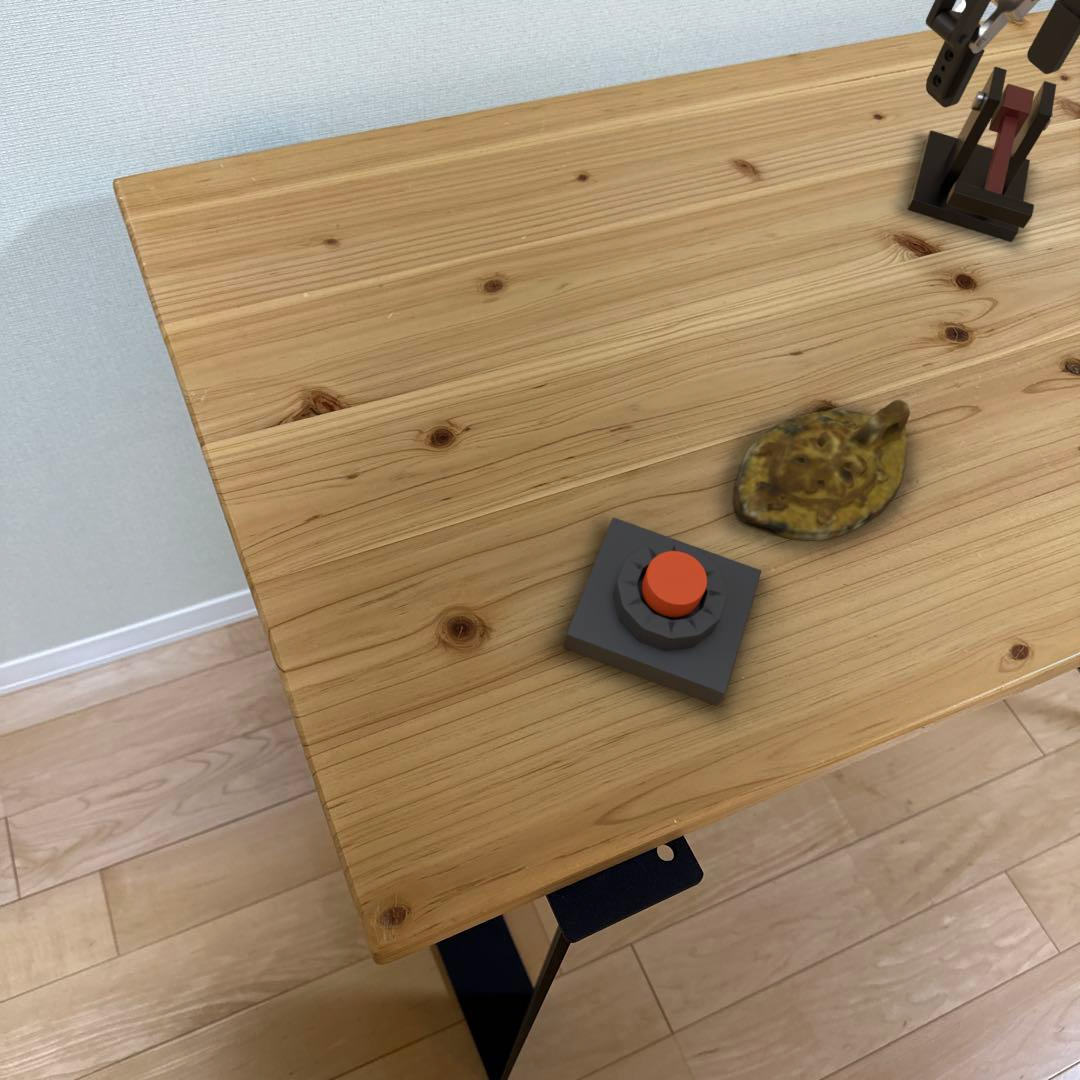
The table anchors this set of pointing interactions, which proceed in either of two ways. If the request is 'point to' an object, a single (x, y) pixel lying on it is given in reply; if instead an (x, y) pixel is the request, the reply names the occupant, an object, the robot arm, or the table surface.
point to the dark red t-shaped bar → (999, 165)
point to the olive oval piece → (823, 472)
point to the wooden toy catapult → (978, 159)
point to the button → (674, 584)
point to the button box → (662, 616)
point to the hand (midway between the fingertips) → (991, 81)
